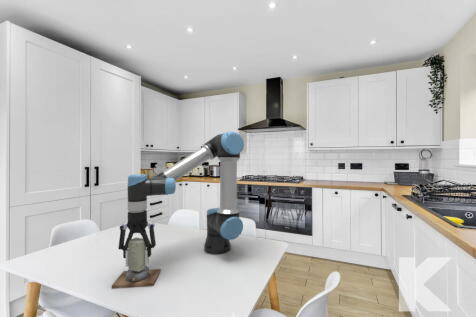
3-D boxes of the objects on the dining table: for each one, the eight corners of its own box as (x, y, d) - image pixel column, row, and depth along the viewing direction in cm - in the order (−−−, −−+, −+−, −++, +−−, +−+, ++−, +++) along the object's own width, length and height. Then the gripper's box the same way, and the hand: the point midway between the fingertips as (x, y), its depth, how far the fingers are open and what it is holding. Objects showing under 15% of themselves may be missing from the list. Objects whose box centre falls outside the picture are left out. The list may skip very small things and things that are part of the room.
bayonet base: (160, 271, 103) (160, 263, 103) (153, 286, 91) (153, 276, 91) (123, 273, 101) (123, 265, 101) (111, 288, 89) (111, 279, 89)
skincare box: (146, 267, 97) (147, 239, 97) (138, 272, 92) (139, 242, 92) (135, 264, 99) (136, 237, 99) (127, 269, 95) (127, 240, 95)
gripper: (163, 208, 101) (163, 259, 101) (116, 209, 99) (116, 262, 99) (159, 211, 93) (159, 267, 93) (108, 213, 91) (108, 270, 91)
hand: (137, 264), depth 96 cm, fingers closed on skincare box, 7 cm apart
